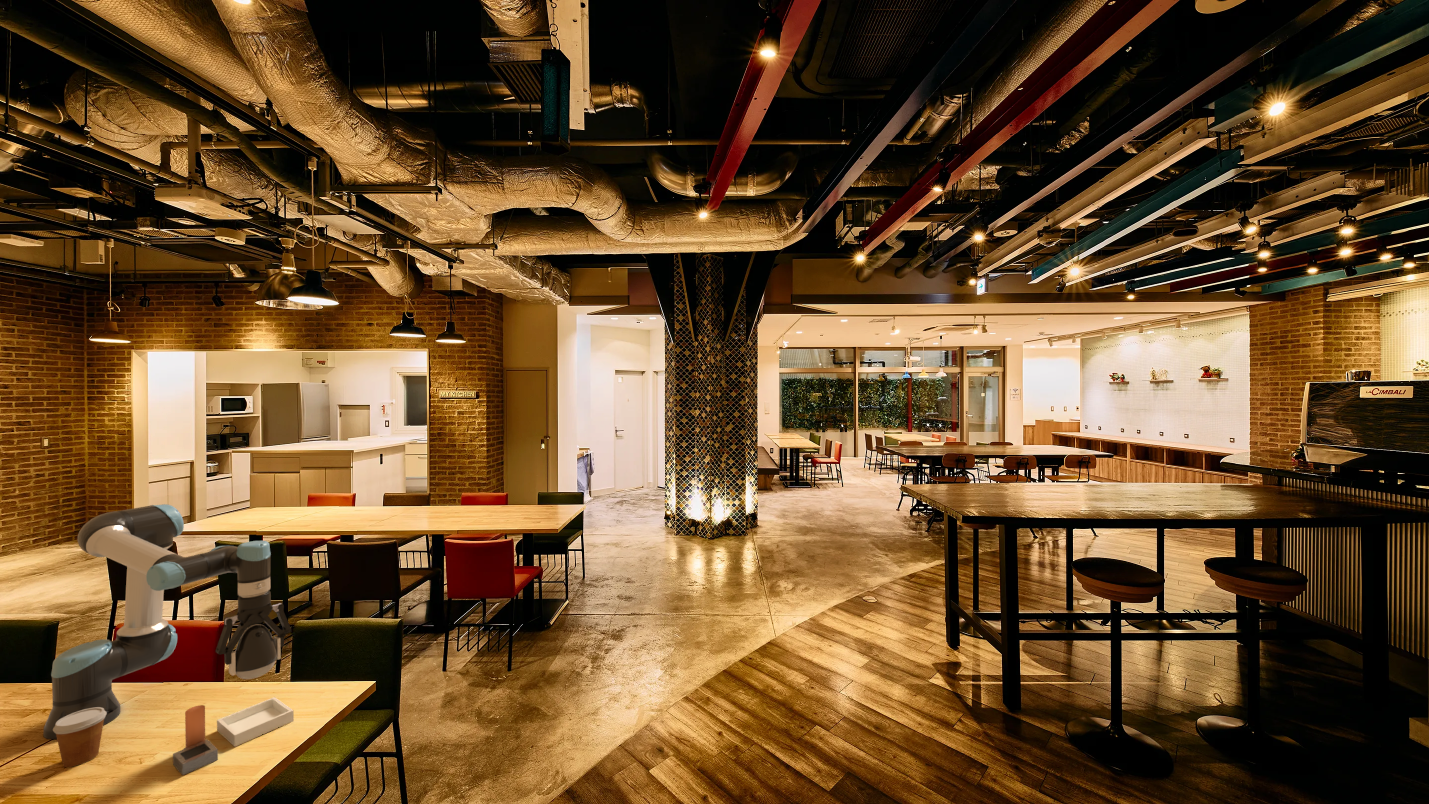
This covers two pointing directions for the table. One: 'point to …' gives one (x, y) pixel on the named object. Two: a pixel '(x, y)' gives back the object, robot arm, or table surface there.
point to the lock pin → (195, 725)
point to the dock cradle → (254, 721)
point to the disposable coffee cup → (80, 735)
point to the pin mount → (195, 757)
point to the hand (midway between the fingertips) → (255, 665)
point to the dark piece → (255, 652)
